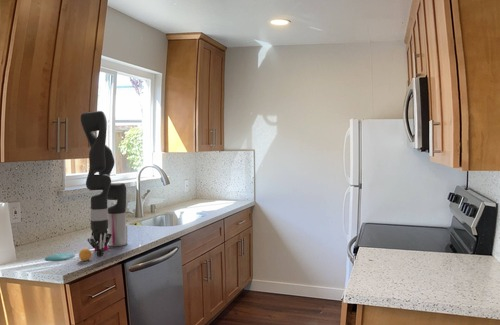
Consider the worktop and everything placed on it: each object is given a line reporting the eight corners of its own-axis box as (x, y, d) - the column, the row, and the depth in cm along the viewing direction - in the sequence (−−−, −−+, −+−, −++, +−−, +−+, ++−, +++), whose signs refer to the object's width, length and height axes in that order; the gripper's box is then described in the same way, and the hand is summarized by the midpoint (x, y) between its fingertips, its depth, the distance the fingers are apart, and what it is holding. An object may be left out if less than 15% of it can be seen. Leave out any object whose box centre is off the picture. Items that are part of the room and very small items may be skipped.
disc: (61, 252, 205) (61, 252, 205) (80, 255, 200) (80, 254, 200) (38, 259, 193) (38, 259, 193) (58, 262, 188) (58, 261, 188)
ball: (85, 258, 194) (85, 246, 194) (94, 259, 192) (94, 247, 192) (76, 261, 189) (76, 249, 189) (85, 262, 187) (85, 250, 187)
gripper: (103, 215, 193) (104, 252, 194) (81, 220, 181) (82, 259, 182) (116, 216, 190) (116, 254, 191) (94, 221, 178) (95, 261, 179)
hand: (100, 256), depth 186 cm, fingers closed
